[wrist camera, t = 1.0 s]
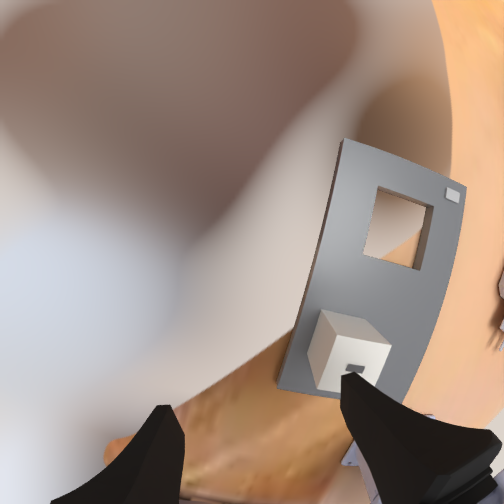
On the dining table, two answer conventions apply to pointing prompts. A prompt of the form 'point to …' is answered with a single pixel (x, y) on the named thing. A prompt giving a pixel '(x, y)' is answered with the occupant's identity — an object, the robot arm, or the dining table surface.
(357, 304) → the socket board
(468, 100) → the dining table surface
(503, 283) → the charger
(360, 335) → the charger
